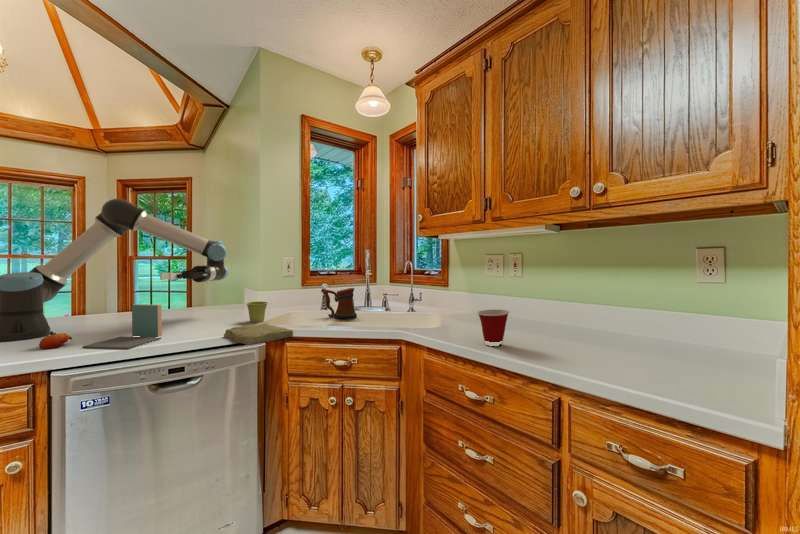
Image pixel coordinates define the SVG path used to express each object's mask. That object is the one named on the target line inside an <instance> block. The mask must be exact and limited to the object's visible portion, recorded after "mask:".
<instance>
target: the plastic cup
mask: <svg viewBox="0 0 800 534" xmlns="http://www.w3.org/2000/svg"><path fill="white" fill-rule="evenodd" d="M509 313H510V311H509V310H507V309H497V308H496V309H484V310H479V311H477V315H478V316H479V320H480V324H481V331H482V336H483V341H484V340H485V341H489V342H500V341H504V336H505V330H506V325H507V321H508V315H509Z"/></svg>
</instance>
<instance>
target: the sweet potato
mask: <svg viewBox="0 0 800 534" xmlns="http://www.w3.org/2000/svg"><path fill="white" fill-rule="evenodd" d="M72 339H73V338H72V336H70V335H69V334H68V333H64V332H61V333H56V331H55V332H54V331H52V330H50V334H49V335H46V336H43V338H42V339H40V341H39V344H38V346H39V348H40V349H41V350H47V349H60V348H59V347H62V346H63V345H64V344H65V343H67V342H68V341H69V340H72Z"/></svg>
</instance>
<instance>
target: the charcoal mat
mask: <svg viewBox="0 0 800 534" xmlns="http://www.w3.org/2000/svg"><path fill="white" fill-rule="evenodd" d="M158 339H161V340H162V337H159V338H156V337H132V336H116V337H112V338H109V339H106V340H105V339H104V340H100V341H98V342H94V343H89V344H85V345H82V349H99V348H101V349H102V350H103V349H104V350H105V349H106V350H107V349H109V350H131V349H135V348H137V347H136V346H138V347H140V346H139V345H141V346H143V345H142V344H144V345H146V344H145V343H148V344H150V343H149V342H151V343H153V342H152V341H154V342H156V341H155V340H157V341H159V340H158ZM134 347H135V348H134Z"/></svg>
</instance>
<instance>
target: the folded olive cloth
mask: <svg viewBox="0 0 800 534" xmlns="http://www.w3.org/2000/svg"><path fill="white" fill-rule="evenodd" d="M223 337H224V338H227V339H231V340H232V341H233V340H234V342H236V343H238V344H239V343H240V344H244V345H246V346H252V345H257V344H263V343H268V342H272V341H277V340H281V339H287V338H291V337H294V330H293V329H290V328H286V327H281V326H277V325H273V324H272V325H271V324H268V323H260V324H259V323H258V324H256V323H255V324H246V325H242V326H234V327H233V326H232V327H231V328H227V329H226V330H225V332H224V333H223Z"/></svg>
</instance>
